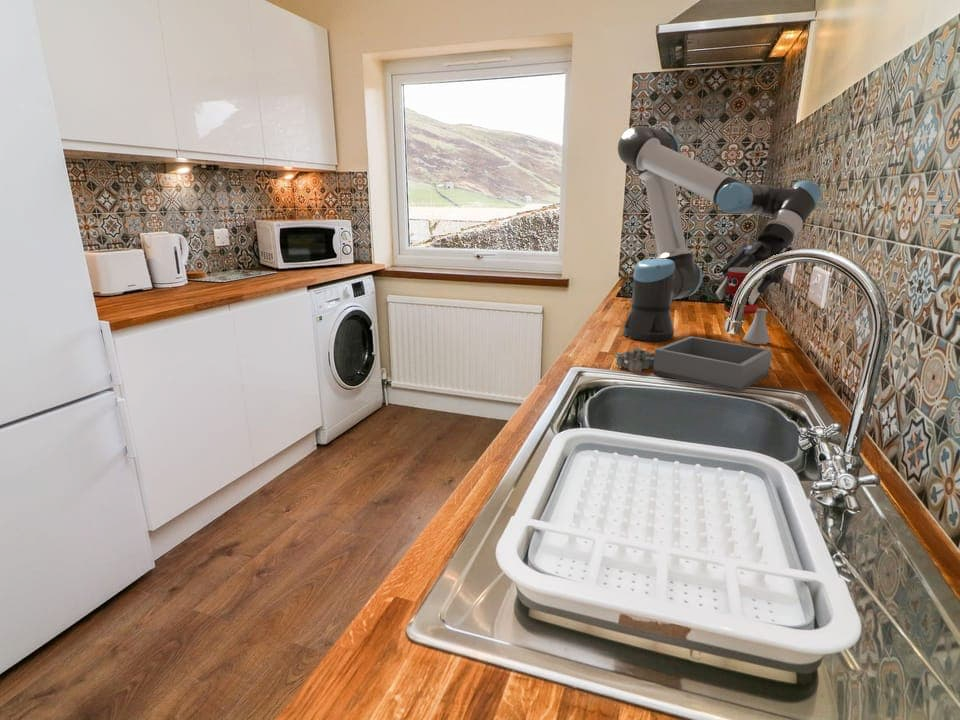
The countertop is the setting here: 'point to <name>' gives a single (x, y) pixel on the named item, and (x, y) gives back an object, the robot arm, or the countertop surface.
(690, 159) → the robot arm
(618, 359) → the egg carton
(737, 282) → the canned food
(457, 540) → the countertop surface
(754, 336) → the flask
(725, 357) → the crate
